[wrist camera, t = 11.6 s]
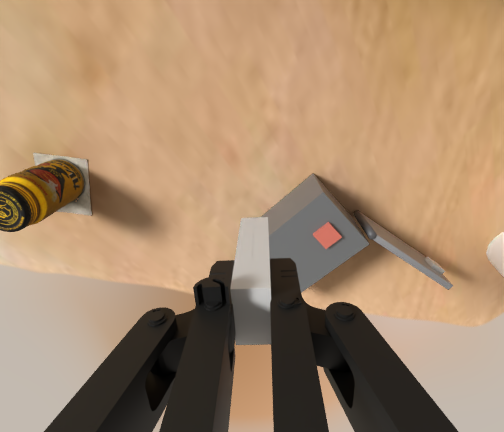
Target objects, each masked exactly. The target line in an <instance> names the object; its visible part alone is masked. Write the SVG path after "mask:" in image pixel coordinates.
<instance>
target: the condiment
mask: <svg viewBox="0 0 504 432" xmlns="http://www.w3.org/2000/svg"><path fill="white" fill-rule="evenodd" d="M33 155H34V160H35V166H33V167H31V168H28V169H25V170H24V171H22V172H19V173H15V174H12V175H10V176H8V177H6V178H4V179H2V180H1V181H0V230H1V231H7V232H15V231H19V230H21V229H23V228H25V227H26V226H29V225H32V224H36V223H38V222H40V221H42V220H44V219H45V218H47V217H48V216H50V215H51V214H53V213H54V212H56V211H58V212H67V213H75V214H84V215H91V216H92V212H91V203H90V186H89V174H88V163H87V159H80V158H73V157H65V156H57V155H48V154H39V153H33ZM77 198H79V199H78V200H77ZM76 200H77V202H75V201H76Z"/></svg>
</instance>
